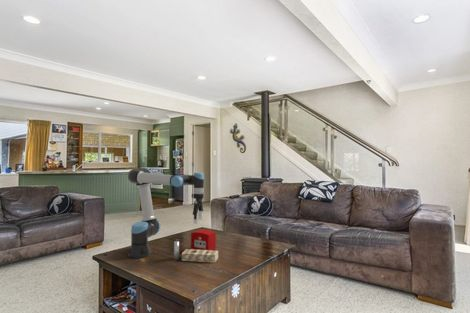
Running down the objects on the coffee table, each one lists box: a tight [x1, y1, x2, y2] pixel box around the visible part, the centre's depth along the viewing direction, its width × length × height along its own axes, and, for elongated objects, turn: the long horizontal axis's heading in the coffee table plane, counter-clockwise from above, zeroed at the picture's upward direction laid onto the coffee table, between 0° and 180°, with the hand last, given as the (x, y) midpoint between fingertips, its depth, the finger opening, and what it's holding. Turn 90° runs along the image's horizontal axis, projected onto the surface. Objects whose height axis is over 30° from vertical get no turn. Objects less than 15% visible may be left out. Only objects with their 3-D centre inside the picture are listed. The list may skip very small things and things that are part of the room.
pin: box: [173, 240, 180, 261], centre depth 198 cm, size 4×4×12 cm
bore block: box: [181, 248, 219, 264], centre depth 197 cm, size 24×10×5 cm, turn 81°
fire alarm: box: [190, 229, 217, 251], centre depth 217 cm, size 16×11×15 cm
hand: (197, 221), depth 207 cm, fingers open, 13 cm apart
